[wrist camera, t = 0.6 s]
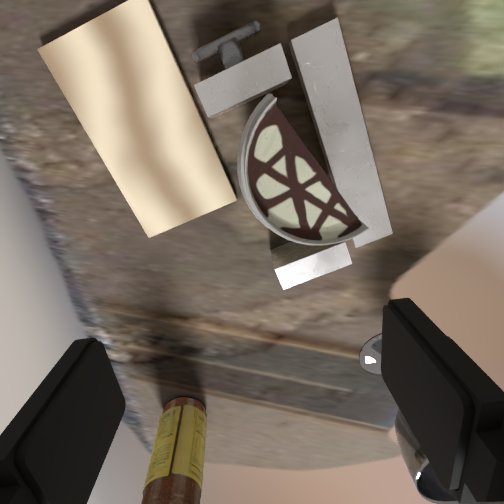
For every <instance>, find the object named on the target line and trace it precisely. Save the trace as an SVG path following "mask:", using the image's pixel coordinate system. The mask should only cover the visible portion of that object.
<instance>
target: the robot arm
mask: <svg viewBox="0 0 504 504" xmlns="http://www.w3.org/2000/svg"><path fill="white" fill-rule="evenodd" d="M381 374H382V377H383V380H384V382H385V383H386V385H387V387H388V389H389V391H390V392H391V394H392V396H393V398H394V400H395V401H396V403H397V405H398V407H399V409H400V410H401V412H402V414H403V416H404V418H405V419H406V421H407V423H408V425H409V426H410V428H411V430H412V432H413V434H414V435H415V437H416V439H417V441H418V443H419V444H420V446H421V448H422V450H423V452H424V453H425V455H426V457H427V459H428V461H429V462H430V464H431V466H432V468H433V470H434V471H435V473H436V475H437V477H438V478H439V480H440V482H441V484H442V485H443V487H444V488H445V489H447V490H452V492H453V493H454V495H455V497H456V499H457V500H458V502H459V503H458V504H504V392H503V391H502V390H501V388H500V387H498V385H496V384H495V382H493V380H492V379H491V378H490V377H489V376H487V374H486V373H485V372H484V371H483V370H482V369H481V368H480V367H479V366H478V365H477V364H476V363H475V362H474V361H473V360H472V359H471V358H470V357H469V356H468V355H467V354H466V353H465V352H464V351H463V350H462V349H461V348H460V347H459V346H458V345H457V344H456V343H455V342H454V341H453V340H452V339H450V338H449V337H448V336H446V335H445V334H444V333H443V332H442V331H441V330H440V329H439V328H438V327H437V326H436V325H435V324H434V323H433V322H432V321H431V320H430V319H429V318H428V317H427V316H426V314H425V313H424V312H423V311H422V310H421V309H420V308H418V306H417V305H416V304H415V303H414V302H413V301H412V300H411V299H410V298H402V299H394V300H390V301H389V302H388V305H385V306H384V307H383V326H382V350H381ZM124 411H125V399H124V396H123V394H122V391H121V389H120V386H119V383H118V381H117V378H116V376H115V373H114V371H113V368H112V366H111V363H110V361H109V358H108V355H107V353H106V350H105V348H104V345H103V343H102V342H100V341H98V340H97V339H96V338H87V339H79V340H75V341H74V342H73V343H72V344H71V345H70V347H69V348H68V349H67V351H66V352H65V353H64V355H63V356H62V357H61V359H60V360H59V361H58V362H57V364H56V365H55V366H54V367H53V369H52V370H51V371H50V372H49V374H48V375H47V376H46V378H45V379H44V380H43V381H42V383H41V384H40V385H39V386H38V388H37V389H36V390H35V392H34V393H33V394H32V395H31V397H30V398H29V399H28V401H27V402H26V403H25V404H24V406H23V407H22V408H21V410H20V411H19V412H18V413H17V415H16V416H15V417H14V419H13V420H12V421H11V422H10V424H9V425H8V426H7V427H6V429H5V430H4V431H3V433H2V434H1V435H0V504H87V502H88V499H89V497H90V494H91V492H92V489H93V487H94V485H95V482H96V480H97V477H98V475H99V472H100V470H101V467H102V465H103V463H104V460H105V458H106V455H107V453H108V450H109V448H110V446H111V443H112V441H113V438H114V436H115V433H116V431H117V429H118V426H119V424H120V421H121V419H122V417H123V414H124Z"/></svg>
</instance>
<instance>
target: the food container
mask: <svg viewBox="0 0 504 504" xmlns="http://www.w3.org/2000/svg"><path fill="white" fill-rule="evenodd" d="M276 101H277V98H276V97H274V96H273V95H272V94H269V93H268V94H267V95H266V96H265V97H264V98H263V99H262V100H261V102H260V103H259V104H258V105H257V107H256V108H255V110H254V111H253V112H252V114H251V115H250V117H249V119H248V121H247V123H246V125H245V128H244V130H243V133H242V136H241V139H240V143H239V149H238V155H237V173H238V179H239V185H240V188H241V191H242V194H243V197H244V199H245V201H246V203H247V205H248V207H249V208H250V210H251V211H252V212H253V214H254V215H255V216H256V218H257V219H258V220H259V221H261V222H262V223H263V224H264V225H265V226H266V227H267V228H269V229H270V230H272V231H273V232H274V233H276V234H277V235H279V236H281V237H283V238H285V239H287V240H290V241H293V242H296V243H299V244H306V245H329V244H336V243H340V242H343V241H347V240H350V239H352V238H354V237H356V236H359V235H361V234H362V233H364V232H365V231H367V230H369V228H368V227H367V226H366V225H365V224H364V223H363V222H361V221H360V220H359V219H358V217H357V216H356V215H355V214H354V212H353V211H352V210H351V208H350V207H349V205H348V204H347V203H346V201H345V200H344V198H343V197H342V196H341V194H340V193H339V191H338V190H337V189H336V187H335V186H334V184H333V183H332V181H331V180H330V178H329V177H328V176H327V174H326V173H325V171H324V170H323V168H322V167H321V166H320V164H319V163H318V162H317V160H316V159H315V158H314V156H313V155H312V153H311V152H310V151H309V149H308V148H307V146H306V145H305V144H304V142H303V141H302V139H301V138H300V137H299V135H298V134H297V132H296V131H295V130H294V128H293V127H292V125H291V124H290V123H289V121H288V120H287V118H286V117H285V116H284V114H283V113H282V112H281V110H280V109H279V108H278V106H277V105H276Z"/></svg>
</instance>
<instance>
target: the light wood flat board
mask: <svg viewBox="0 0 504 504" xmlns="http://www.w3.org/2000/svg"><path fill="white" fill-rule="evenodd" d="M38 51H39V53H40V54H41V56H42V58H43V60H44V61H45V63H46V65H47V66H48V68H49V70H50V71H51V73H52V75H53V76H54V78H55V80H56V82H57V83H58V85H59V87H60V88H61V90H62V92H63V93H64V95H65V97H66V98H67V100H68V102H69V104H70V105H71V107H72V109H73V110H74V112H75V114H76V115H77V117H78V119H79V120H80V122H81V124H82V126H83V127H84V129H85V131H86V132H87V134H88V136H89V137H90V139H91V141H92V142H93V144H94V146H95V148H96V149H97V151H98V153H99V154H100V156H101V158H102V159H103V161H104V163H105V164H106V166H107V168H108V170H109V171H110V173H111V175H112V176H113V178H114V180H115V181H116V183H117V185H118V187H119V188H120V190H121V192H122V193H123V195H124V197H125V198H126V200H127V202H128V203H129V205H130V207H131V209H132V210H133V212H134V214H135V215H136V217H137V219H138V220H139V222H140V224H141V225H142V227H143V229H144V231H145V232H146V234H147V236H148V237H149V238H150V237H152V236H155V235H157V234H159V233H162V232H164V231H166V230H169V229H171V228H173V227H176V226H178V225H180V224H183V223H185V222H187V221H190V220H192V219H194V218H197V217H199V216H201V215H204V214H206V213H208V212H211V211H213V210H215V209H218V208H220V207H223V206H225V205H227V204H230V203H232V202H234V201H237V197H236V194H235V192H234V190H233V188H232V185H231V183H230V181H229V179H228V176H227V174H226V172H225V170H224V167H223V165H222V163H221V161H220V158H219V156H218V154H217V152H216V149H215V147H214V145H213V143H212V140H211V138H210V136H209V134H208V131H207V129H206V127H205V125H204V122H203V120H202V118H201V116H200V113H199V111H198V109H197V107H196V104H195V102H194V100H193V98H192V95H191V93H190V91H189V89H188V87H187V84H186V82H185V80H184V78H183V75H182V73H181V71H180V69H179V66H178V64H177V62H176V60H175V57H174V55H173V53H172V51H171V48H170V46H169V44H168V42H167V39H166V37H165V35H164V33H163V30H162V28H161V26H160V24H159V21H158V19H157V17H156V15H155V12H154V10H153V8H152V6H151V3H150V1H149V0H128V1H126V2H124V3H122V4H120V5H119V6H117V7H115V8H113V9H111V10H109V11H108V12H106V13H104V14H102V15H100V16H98V17H96V18H95V19H93V20H91V21H89V22H87V23H85V24H83V25H82V26H80V27H78V28H76V29H74V30H72V31H70V32H69V33H67V34H65V35H63V36H61V37H59V38H58V39H56V40H54V41H52V42H50V43H48V44H46V45H45V46H43V47H41V48H39V49H38Z"/></svg>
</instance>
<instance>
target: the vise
mask: <svg viewBox="0 0 504 504" xmlns="http://www.w3.org/2000/svg"><path fill="white" fill-rule="evenodd" d="M260 30H261V24H260V22H259V21H257V20H254V21H252V22H250V23H248V24H246V25H244V26H242V27H240V28H238V29H236V30H234V31H232V32H230V33H228V34H226V35H224V36H222V37H220V38H218V39H216V40H214V41H212V42H210V43H208V44H206V45H204V46H202V47H200V48H198V49H196V50H194V51H193V53H192V58H193V60H194V61H195V62H197V63H200V62H202V61H204V60H206V59H208V58H210V57H212V56H214V55H216V54H219V56H220V59H221V61H222V64H223V66H224V69H225V70H224V71H222V72H220V73H218V74H216V75H214V76H212V77H210V78H208V79H206V80H204V81H201V82H199V83H197V84H195V85H194V86H195V89H196V91H197V93H198V96H199V98H200V100H201V102H202V105H203V107H204V109H205V112H206V114H207V116H208V117H209V118H213V119H214V118H216V117H218V116H220V115H222V114H225V113H227V112H229V111H231V110H233V109H235V108H237V107H240V106H242V105H244V104H246V103H248V102H250V101H252V100H255V99H257V98H259V97H261V96H263V95H265V94H267V93H270V92H272V91H274V90H276V89H278V88H280V87H282V86H284V85H285V84H286V83H287V82H288V81H289V80H290V79H291V78H292V77H291V74H290V70H289V67H288V64H287V61H286V58H285V55H284V52H283V49H282V46H281V43H280V44H278V45H276V46H273V47H271V48H269V49H267V50H265V51H263V52H261V53H259V54H257V55H255V56H253V57H251V58H249V59H247V60H245V58H244V55H243V53H242V50H241V47H240V45H239V43H240V42H242V41H244V40H246V39H248V38H250V37H252V36H254V35H256V34H258V33H259V32H260ZM288 45H289V48H290V51H291V54H292V58H293V61H294V64H295V67H296V70H297V73H298V77H299V80H300V83H301V86H302V89H303V92H304V96H305V99H306V102H307V105H308V108H309V111H310V114H311V118H312V121H313V124H314V127H315V130H316V133H317V137H318V140H319V143H320V146H321V149H322V152H323V156H324V159H325V162H326V165H327V168H328V171H329V175H330V178H331V181H332V183H333V184H334V186H335V187H336V189H337V190H338V191H339V193H340V194H341V196H342V197H343V198H344V200H345V201H346V203H347V204H348V205H349V207H350V208H351V210H352V211H353V212H354V214H355V215H356V216H357V217H358V219H359V220H360V221H361V222H363V223H364V224H365V225H366V226H367V227H368V228H369V230H367V231H365V232H364V233H362V234H361V235H359V236H356V237H354V238H352V239H350V241H351V243H352V244H353V245H354V247H355V248H357V247H360V246H362V245H365V244H367V243H370V242H372V241H375V240H378V239H380V238H383V237H385V236H388V235H391V234H393V233H392V229H391V225H390V221H389V217H388V213H387V209H386V205H385V201H384V197H383V193H382V190H381V186H380V182H379V178H378V174H377V170H376V166H375V162H374V158H373V154H372V150H371V146H370V143H369V139H368V135H367V131H366V127H365V123H364V119H363V115H362V111H361V107H360V103H359V99H358V96H357V92H356V88H355V84H354V80H353V76H352V72H351V68H350V64H349V60H348V56H347V53H346V49H345V45H344V41H343V37H342V33H341V29H340V25H339V21H338V17H337V18H335V19H333V20H331V21H329V22H327V23H325V24H323V25H321V26H319V27H317V28H315V29H313V30H311V31H309V32H307V33H305V34H302V35H300V36H298V37H296V38H294V39H292V40H291V41H290V43H289V44H288ZM270 251H271V256H272V260H273V265H274V269H275V272H276V274H277V276H278V278H279V281H280V283H281V285H282V288H283V290H284V289H287V288H290V287H292V286H295V285H298V284H300V283H303V282H305V281H308V280H311V279H313V278H316V277H319V276H321V275H324V274H326V273H329V272H332V271H334V270H337V269H340V268H342V267H345V266H348V265H350V264H352V262H351V259H350V256H349V253H348V249H347V246H346V243H345V241H343V242H340V243H336V244H329V245H306V244H299V243H296V242H293V241H291V242H289V243H286V244H284V245H281V246H279V247H276V248H274V249H271V250H270Z"/></svg>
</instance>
